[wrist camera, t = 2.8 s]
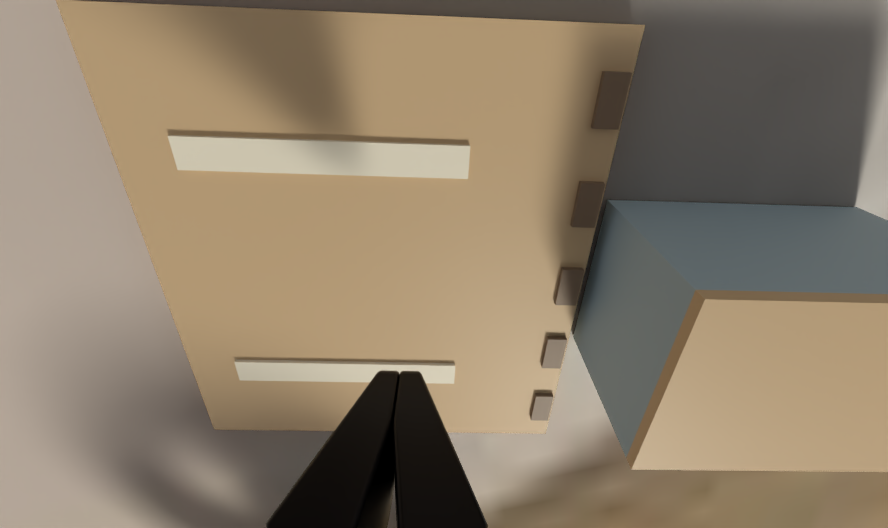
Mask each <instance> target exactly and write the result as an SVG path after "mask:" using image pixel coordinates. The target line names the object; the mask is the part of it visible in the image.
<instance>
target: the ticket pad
mask: <svg viewBox="0 0 888 528" xmlns="http://www.w3.org/2000/svg"><path fill="white" fill-rule="evenodd" d="M56 2H57V5H58V8H59V10H60V13H61V16H62V19H63V21H64V24H65V27H66V29H67V32H68V35H69V38H70V40H71V43H72V46H73V48H74V51H75V54H76V56H77V59H78V62H79V65H80V67H81V70H82V73H83V75H84V78H85V81H86V84H87V86H88V89H89V92H90V94H91V97H92V100H93V103H94V105H95V108H96V111H97V113H98V116H99V119H100V122H101V124H102V127H103V130H104V132H105V135H106V138H107V141H108V143H109V146H110V149H111V151H112V154H113V157H114V159H115V162H116V165H117V168H118V170H119V173H120V176H121V178H122V181H123V184H124V187H125V189H126V192H127V195H128V197H129V200H130V203H131V206H132V208H133V211H134V214H135V216H136V219H137V222H138V225H139V227H140V230H141V233H142V235H143V238H144V241H145V244H146V246H147V249H148V252H149V254H150V257H151V260H152V262H153V265H154V268H155V271H156V273H157V276H158V279H159V281H160V284H161V287H162V290H163V292H164V295H165V298H166V300H167V303H168V306H169V309H170V311H171V314H172V317H173V319H174V322H175V325H176V328H177V330H178V333H179V336H180V338H181V341H182V344H183V346H184V349H185V352H186V355H187V357H188V360H189V363H190V365H191V368H192V371H193V374H194V376H195V379H196V382H197V384H198V387H199V390H200V393H201V395H202V398H203V401H204V403H205V406H206V409H207V412H208V414H209V417H210V420H211V422H212V425H213V428H214V430H291V431H335V429H336V428H337V426H338V425H339V424H340V422H341V421H342V420H343V418H344V417H345V416H346V414H347V413H348V412H349V410H350V409H351V407H352V406H353V405H354V403H355V402H356V401H357V399H358V398H359V397H360V395H361V394H362V393H363V391H364V390H365V388H366V387H367V386H368V384H369V383H370V382H371V380H372V379H373V378H374V376H375V375H376V374H377V372H379V371H381V370H385V371H398V372H399V374H400V372H402V371H419V372H420V373H421V374H422V376H423V378H424V380H425V383H426V385H427V387H428V390H429V392H430V394H431V396H432V399H433V401H434V403H435V406H436V408H437V410H438V412H439V415H440V417H441V419H442V422H443V424H444V426H445V429H446V431H447V432H457V433H540V434H546V430H547V425H548V421H549V417H550V413H551V409H552V405H553V401H554V397H555V393H556V389H557V384H558V380H559V376H560V372H561V368H562V364H563V360H564V356H565V352H566V348H567V344H568V339H569V335H570V331H571V327H572V323H573V319H574V315H575V311H576V307H577V303H578V298H579V294H580V290H581V286H582V282H583V278H584V274H585V270H586V266H587V262H588V257H589V253H590V249H591V245H592V241H593V237H594V233H595V229H596V225H597V221H598V217H599V212H600V208H601V204H602V200H603V196H604V192H605V188H606V184H607V180H608V176H609V171H610V167H611V163H612V159H613V155H614V151H615V147H616V143H617V139H618V135H619V131H620V126H621V122H622V118H623V114H624V110H625V106H626V102H627V98H628V94H629V90H630V85H631V81H632V77H633V73H634V69H635V65H636V61H637V57H638V53H639V49H640V45H641V40H642V36H643V32H644V28H645V25H636V24H612V23H589V22H566V21H542V20H519V19H496V18H472V17H449V16H426V15H403V14H379V13H356V12H333V11H309V10H286V9H263V8H240V7H216V6H193V5H170V4H146V3H123V2H100V1H77V0H56Z"/></svg>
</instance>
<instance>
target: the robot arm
mask: <svg viewBox="0 0 888 528" xmlns="http://www.w3.org/2000/svg"><path fill="white" fill-rule="evenodd" d="M394 484H395V499H396V521H397V528H488V525H487V522H486V520H485V518H484V516H483V513H482V511H481V509H480V506H479V504H478V502H477V500H476V497H475V495H474V493H473V490H472V488H471V486H470V484H469V481H468V479H467V477H466V474H465V472H464V470H463V467H462V465H461V463H460V461H459V458H458V456H457V454H456V451H455V449H454V447H453V445H452V442H451V440H450V438H449V435H448V433H447V431H446V429H445V426H444V424H443V422H442V419H441V417H440V415H439V412H438V410H437V408H436V406H435V403H434V401H433V399H432V396H431V394H430V392H429V390H428V387H427V385H426V383H425V380H424V378H423V376H422V374H421V373H420V372H419V371H402V372H400V374H399V372H398V371H385V370H381V371H379V372H377V374H376V375H375V376H374V378H373V379H372V380H371V382H370V383H369V384H368V386H367V387H366V388H365V390H364V391H363V393H362V394H361V395H360V397H359V398H358V399H357V401H356V402H355V403H354V405H353V406H352V407H351V409H350V410H349V412H348V413H347V414H346V416H345V417H344V418H343V420H342V421H341V422H340V424H339V425H338V426H337V428H336V429H335V431H334V432H333V433H332V435H331V436H330V437H329V439H328V440H327V441H326V443H325V444H324V446H323V447H322V448H321V450H320V451H319V452H318V454H317V455H316V456H315V458H314V459H313V460H312V462H311V463H310V465H309V466H308V467H307V469H306V470H305V471H304V473H303V474H302V475H301V477H300V478H299V479H298V481H297V482H296V484H295V485H294V486H293V488H292V489H291V490H290V492H289V493H288V494H287V496H286V497H285V498H284V500H283V501H282V503H281V504H280V505H279V507H278V508H277V509H276V511H275V512H274V513H273V515H272V516H271V518H270V519H269V520H268V522H267V523H266V528H387V525H388V520H389V514H390V509H391V504H392V498H393V492H394Z"/></svg>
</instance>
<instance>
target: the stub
mask: <svg viewBox="0 0 888 528" xmlns="http://www.w3.org/2000/svg"><path fill="white" fill-rule="evenodd" d="M573 337H574V339H575V342H576V344H577V346H578V349H579V351H580V353H581V355H582V358H583V360H584V362H585V365H586V367H587V369H588V371H589V374H590V376H591V378H592V381H593V383H594V385H595V387H596V390H597V392H598V394H599V397H600V399H601V401H602V403H603V406H604V408H605V410H606V413H607V415H608V417H609V419H610V422H611V424H612V426H613V429H614V431H615V433H616V435H617V438H618V440H619V442H620V445H621V447H622V449H623V451H624V454H625V456H626V458H627V461H628V463H629V465H630V467H631V469H632V470H738V471H844V472H888V221H887V220H885V219H883V218H880V217H878V216H876V215H873V214H871V213H869V212H866V211H864V210H862V209H860V208H857V207H832V206H798V205H765V204H731V203H697V202H664V201H630V200H607V204H606V208H605V212H604V216H603V220H602V224H601V228H600V232H599V236H598V240H597V244H596V248H595V252H594V256H593V260H592V264H591V268H590V272H589V276H588V280H587V284H586V288H585V292H584V296H583V300H582V304H581V308H580V312H579V316H578V320H577V324H576V328H575V332H574V336H573Z"/></svg>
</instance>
